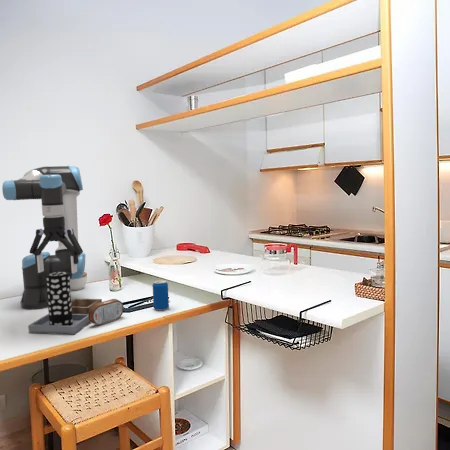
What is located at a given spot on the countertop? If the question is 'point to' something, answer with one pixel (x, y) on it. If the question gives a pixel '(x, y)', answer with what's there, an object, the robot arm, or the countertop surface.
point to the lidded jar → (78, 282)
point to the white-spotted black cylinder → (59, 298)
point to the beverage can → (160, 295)
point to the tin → (106, 311)
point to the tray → (45, 328)
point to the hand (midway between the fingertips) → (57, 272)
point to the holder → (83, 305)
